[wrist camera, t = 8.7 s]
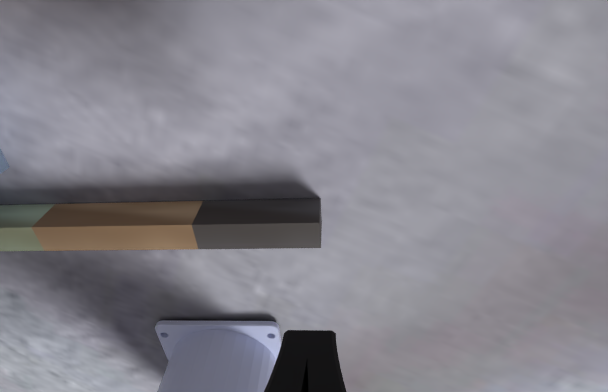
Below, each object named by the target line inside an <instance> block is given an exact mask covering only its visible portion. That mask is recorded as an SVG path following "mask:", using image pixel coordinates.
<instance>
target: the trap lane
mask: <svg viewBox="0 0 608 392" xmlns="http://www.w3.org/2000/svg"><path fill="white" fill-rule="evenodd" d="M321 225H322V221H321V200H320V198H317V199H269V200H221V201H173V202H125V203H77V204H29V205H0V251H70V250H164V249H259V248H321Z"/></svg>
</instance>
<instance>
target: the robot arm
mask: <svg viewBox="0 0 608 392" xmlns="http://www.w3.org/2000/svg"><path fill="white" fill-rule="evenodd" d="M155 331H156V333H157V335H158V338H159V340H160V343H161V345H162V347H163V350H164V352H165V354H166V357H167V359H168V362H169V363H168V365H167V368H166V370H165V373H164V376H163V378H162V381H161V384H160V386H159V389H158V391H157V392H346V389H345V385H344V381H343V377H342V373H341V369H340V364H339V359H338V353H337V346H336V333H334V332H333V331H308V330H288V331H287V332H285V333H284V337H283V341H282V343H281V337H280V330H279V325H278V324H277V323H276V322H274V321H174V320H162V321H158V322H157V324H156V326H155Z"/></svg>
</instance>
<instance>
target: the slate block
mask: <svg viewBox="0 0 608 392" xmlns="http://www.w3.org/2000/svg"><path fill="white" fill-rule="evenodd" d="M8 168H9V165H8V163H7V161H6V159H5V157H4V155H3V153H2V151H1V149H0V174H1V173H2V172H3V171H5V170H6V169H8Z"/></svg>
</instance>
